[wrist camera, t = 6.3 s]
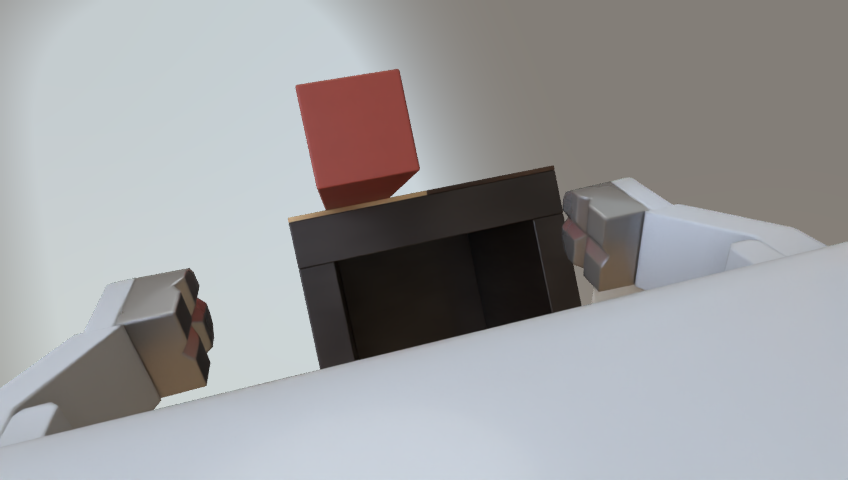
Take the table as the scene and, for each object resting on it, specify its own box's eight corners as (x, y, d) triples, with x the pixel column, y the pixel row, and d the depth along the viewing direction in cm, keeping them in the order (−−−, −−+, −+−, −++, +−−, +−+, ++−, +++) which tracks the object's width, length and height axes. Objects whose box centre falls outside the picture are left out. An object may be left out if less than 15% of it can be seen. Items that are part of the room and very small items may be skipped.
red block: (317, 189, 14) (294, 84, 14) (331, 223, 35) (322, 182, 35) (420, 170, 14) (399, 67, 14) (371, 214, 36) (363, 174, 36)
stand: (415, 814, 23) (287, 217, 22) (386, 597, 36) (307, 227, 36) (664, 717, 24) (553, 165, 24) (547, 545, 38) (475, 194, 38)
